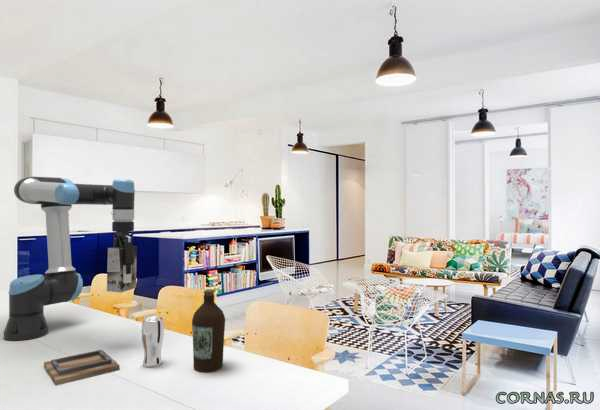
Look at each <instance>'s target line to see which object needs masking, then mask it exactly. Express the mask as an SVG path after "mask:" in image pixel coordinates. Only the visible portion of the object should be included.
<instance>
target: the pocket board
mask: <svg viewBox="0 0 600 410" xmlns="http://www.w3.org/2000/svg"><path fill="white" fill-rule="evenodd" d="M43 367H44V369H45V371H46V373H47V374H48V375H49V377H50V378H51V380H52V382H53V383H54V385H55V386H58V385H62V384H66V383H71V382H74V381H80V380H83V379H87V378H91V377H97V376H100V375H103V374H108V373H112V372H115V371H116V372H117V371H119V370H120V364H119V363H118V362H117V361H116V360H114V359H113V358H112V356H111V355H109V354H108V353H107V352H105V351H104V350H103V349H98V350H94V351H89V352H83V353H79V354H74V355H69V356H66V357H59V358H55V359H50V360H47V361H43Z"/></svg>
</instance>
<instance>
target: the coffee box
mask: <svg viewBox="0 0 600 410" xmlns="http://www.w3.org/2000/svg"><path fill="white" fill-rule="evenodd" d="M137 251H138V245H133V253H134V264H132V276H131V283H123V265H122V264H123V263H124V252H125V248H120V247H113V246H112V247H107V265H106V266H107V267H106V268H107V270H106V272H107V273H106V292H111V293H124V292H127V291H130V290H134V289H136V288H137V259H138V258H137V256H138V255H137V254H138V252H137Z"/></svg>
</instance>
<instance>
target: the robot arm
mask: <svg viewBox="0 0 600 410" xmlns="http://www.w3.org/2000/svg"><path fill="white" fill-rule="evenodd" d="M13 192H14V195H15V197H16V199H18V200H19V201H21V202H23V203H26V204H30V205H40V208H41V211H43V212H44V214H45V223H46V224H45V225H46V226H45V229H46V242H47V258H48V259H47V260H48V269H47V270H46V271H45V272H44V275H43V274H32V275H31V274H28V275H24V276H19V277H18V278H15V279H13V280H12V281H10V283H9V288H8V297H9V298H8V306H9V307H8V308H9V309H8V314H9V315H8V320H7V322H6V325H5V329H3V330H4V331H3V339H4V340H6V341H25V340H26V341H27V340H33V339H37V338H40V337H43V336H46V335H47V334H48V333H49V325H48V322H47V320H46V317H45V314H44V313H45V311H44V308H45V307H44V306H50V305H55V304H60V303H68V302H70V301H74V300H77V299H78V298H79V296H80V295H81V293H82V292H83V286H84V285H83V283H84V281H83V278H82V276H81V274H80V273H78V272H77V270H76V268H75V267H74V266H73V264H72V250H71V236H70V235H71V233H70V220H69V211H70V210H71V209H72V208H73V205H87V206H88V205H93V206H94V205H98V206H99V205H100V206H101V205H102V206H103V205H104V206H108V205H109V206H110V205H112V211H111V212H110V215H111V216H112V221H113V222H111V225H112V226H111V227H112V228H111V230H112V232H113V233H114V234H113V245H112V247H120V248H125V252H124V263H123V264H122V265H123V283H131V276H132V264H134V253H133V246H134V245H133V243H134V242H133V241H134V237H133V236H130V232H133V231H134V230H135V222H134V220H135V196H136V195H135V194H136V193H135V192H136V190H135V182H134V181H133V180H132V179H114V180H112V184H89V183H87V184H86V183H85V184H84V183H74V182H73V181H72V180H71V179H70V178H69V179H68V178H63V177H50V176H49V177H48V176H47V177H46V176H27V177H24V178H21V179H19V180H18V181H17V182H16V183H15V185H14V187H13ZM115 233H116V234H115Z"/></svg>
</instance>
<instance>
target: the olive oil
mask: <svg viewBox="0 0 600 410" xmlns="http://www.w3.org/2000/svg"><path fill="white" fill-rule="evenodd" d="M203 294H204V295H203V303H202V304H201V305H200V306H199V307H198V308H197V310H196V311H195V312H194V314H193V316H192V321H191V328H192V351H193V352H192V353H193V357H192V358H193V369H194V370H195V371H197V372H199V373H212V372H216V371H219V370H220V369H222V368H223V365H224V348H225V347H224V346H225V344H224V343H225V330H226V328H225V327H226V316H225V314H224V311H223V310H222V309H221V307H219V306H218V305H217V304H216V303H215V290H213V289H207V290H204V291H203Z"/></svg>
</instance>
